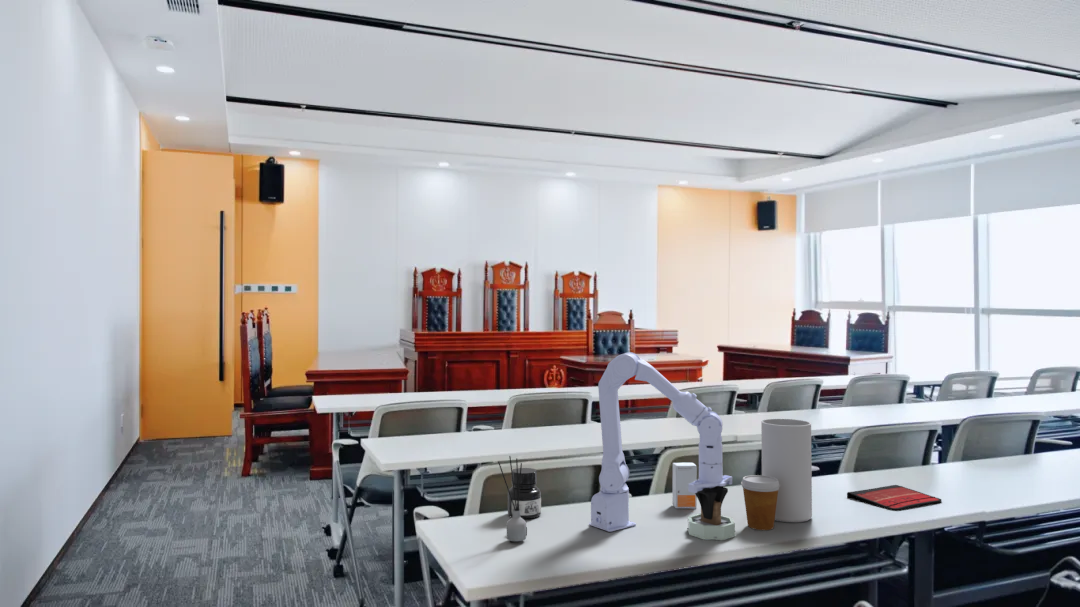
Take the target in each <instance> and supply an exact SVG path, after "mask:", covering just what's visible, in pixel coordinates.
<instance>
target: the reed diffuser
mask: <svg viewBox="0 0 1080 607" xmlns="http://www.w3.org/2000/svg"><path fill="white" fill-rule="evenodd" d="M511 458H512V456H511V455H509V458H508V459H509V465H510V470H511V471H510V472H511V473H510V474H511V483H512V482H513V485H512V486H513V490H514V497H515V489H514V481H513V473H512V470H513V466H512V459H511ZM515 462H516V463H515V464H516V468H517V497H518V502H517V505H516V497H515V505H516V509H515V506H514V503H513V500H512V497H511V494H510V491H509V489H510V488H509V486H508V483H507V481H506V480H507V479H506V478H505V475H504V471H503V469H502V465H501V463H500V461H499V460H498V461H497V463H498V466H499V469H500V472H501V475H502V477H503V479H504V484H505V486H506V489H507V493H508V492H509V495H510V498H511V500H512V503H513V506H514V509H513V515H512V517H510V518H509V519H508V520H507V522H506V539H507V540H508V541H510V542H523V541H525V540H526V539H527V537H528V527H527V522H526V519H522V518H521V517H520V509H519V491H520V480H521V468H523V467H522V466H523V463H522V462H520V467H518V466H519V465H518V458H515ZM518 468H520V478H519V490H518Z"/></svg>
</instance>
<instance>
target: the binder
mask: <svg viewBox="0 0 1080 607" xmlns="http://www.w3.org/2000/svg"><path fill="white" fill-rule="evenodd" d="M846 496H847V497H846V498H847V499H853V498H855V499H857V500H858V501H859V502H860V503H863V504H868V505H870V506H871V505H872V506H874V507H878V508H882V509H885V510H889V511H894V512H899V511H903V510H907V509H912V508H916V507H917V508H918V507H922V506H927V505H936V504H938V505H939V504H941V502H942V499H941V498H939V497H936V496H933V495H929V494H926V493H924V492H921V491H919V490H914V489H911V488H907V487H905V486H903V485H899V484H898V485H897V484H893V485H886V486H880V487H876V488H875V487H874V488H868V489H867V488H866V489H861V490H854V491H848V492H846Z"/></svg>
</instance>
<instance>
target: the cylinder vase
mask: <svg viewBox="0 0 1080 607" xmlns="http://www.w3.org/2000/svg"><path fill="white" fill-rule="evenodd" d="M812 464H813V463H812V422H810V421H807V420H803V419H793V418H766V419H762V420H761V475H762V476H770V477H774V478H776V479H778V482H779V484H780V487H779V490H778V496H777V504H776V513H775V521H776V522H780V523H781V522H782V523H783V522H784V523H802V522H803V523H805V522H807V521H809V520H811V519H812V517H813V505H812V504H813V495H812V494H813V492H812V488H813V486H812V485H813V484H812V480H813V479H812V478H813V477H812V475H813V474H812V473H813V472H812V468H813V467H812Z"/></svg>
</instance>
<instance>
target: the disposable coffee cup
mask: <svg viewBox="0 0 1080 607" xmlns="http://www.w3.org/2000/svg"><path fill="white" fill-rule="evenodd" d="M740 485H741V487H742V490H743V498H744V505H745V512H746V513H745V514H746V520H747V527H748V528H751V529H754V530H757V531H770V530H773V529H774V528H775V521H776V520H775V513H776V504H777V496H778V490H779V487H780V484H779V482H778V479H776V478H774V477H770V476H762V474H760V475H759V474H757V475H756V474H751V475H745V476H743V477H742V480H741V482H740Z"/></svg>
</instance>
